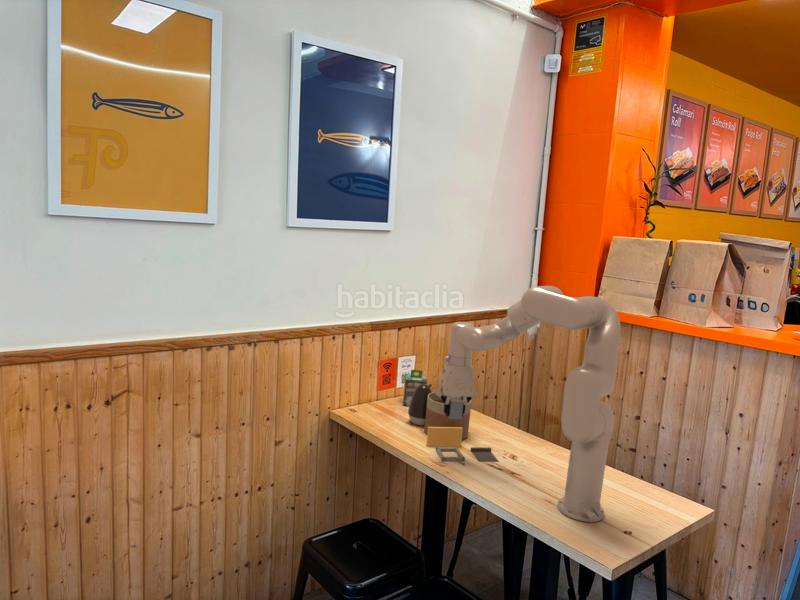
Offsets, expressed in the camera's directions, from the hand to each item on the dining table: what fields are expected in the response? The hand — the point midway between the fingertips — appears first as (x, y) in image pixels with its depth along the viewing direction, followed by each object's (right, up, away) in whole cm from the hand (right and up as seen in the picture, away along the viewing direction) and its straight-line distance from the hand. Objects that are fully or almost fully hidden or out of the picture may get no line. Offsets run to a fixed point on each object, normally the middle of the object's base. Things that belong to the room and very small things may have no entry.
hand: (453, 414), depth 190 cm
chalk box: (-12, -6, +54) cm, 56 cm away
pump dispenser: (-10, -10, +32) cm, 34 cm away
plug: (0, -1, 0) cm, 1 cm away
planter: (-1, -12, +22) cm, 25 cm away
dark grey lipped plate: (+11, -15, +4) cm, 19 cm away
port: (-2, -14, +4) cm, 15 cm away
